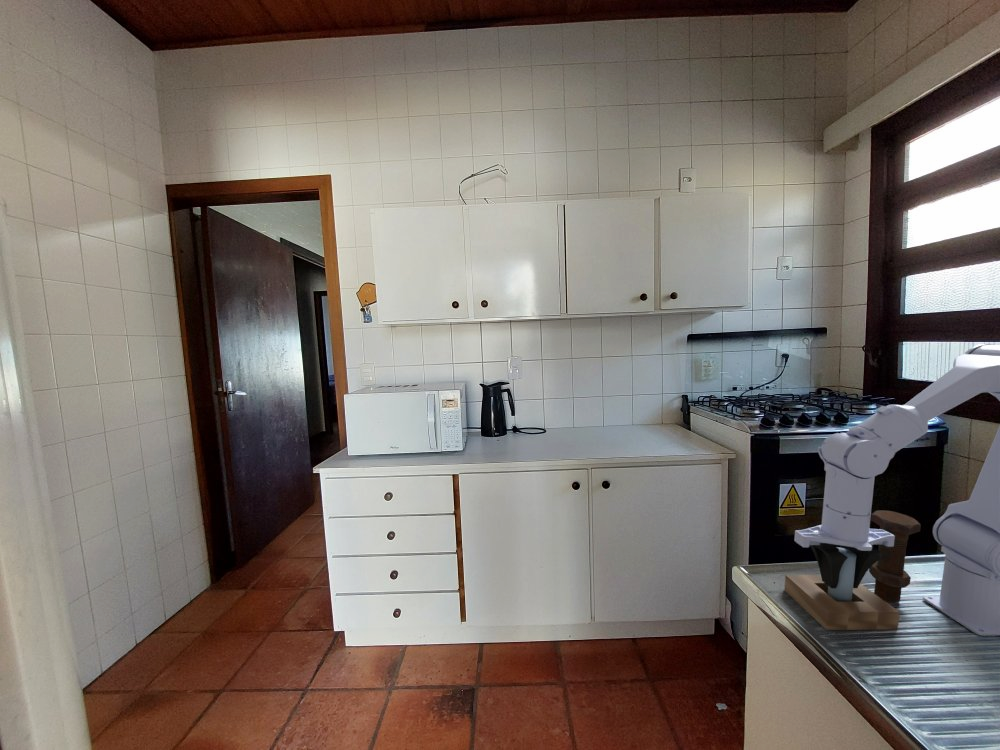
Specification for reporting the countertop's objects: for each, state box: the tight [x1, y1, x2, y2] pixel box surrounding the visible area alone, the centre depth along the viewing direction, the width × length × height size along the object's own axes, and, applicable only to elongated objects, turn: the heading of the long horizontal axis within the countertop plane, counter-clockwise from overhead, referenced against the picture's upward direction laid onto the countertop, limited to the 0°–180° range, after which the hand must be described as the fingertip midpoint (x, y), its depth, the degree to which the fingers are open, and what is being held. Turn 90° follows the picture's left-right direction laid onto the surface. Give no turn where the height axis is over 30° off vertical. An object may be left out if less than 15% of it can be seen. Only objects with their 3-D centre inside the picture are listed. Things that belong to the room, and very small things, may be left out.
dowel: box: [828, 546, 856, 602], centre depth 62 cm, size 3×3×10 cm
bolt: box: [868, 509, 922, 604], centre depth 65 cm, size 6×5×15 cm
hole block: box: [783, 574, 900, 631], centre depth 63 cm, size 11×9×3 cm
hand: (839, 584), depth 63 cm, fingers closed on dowel, 3 cm apart
